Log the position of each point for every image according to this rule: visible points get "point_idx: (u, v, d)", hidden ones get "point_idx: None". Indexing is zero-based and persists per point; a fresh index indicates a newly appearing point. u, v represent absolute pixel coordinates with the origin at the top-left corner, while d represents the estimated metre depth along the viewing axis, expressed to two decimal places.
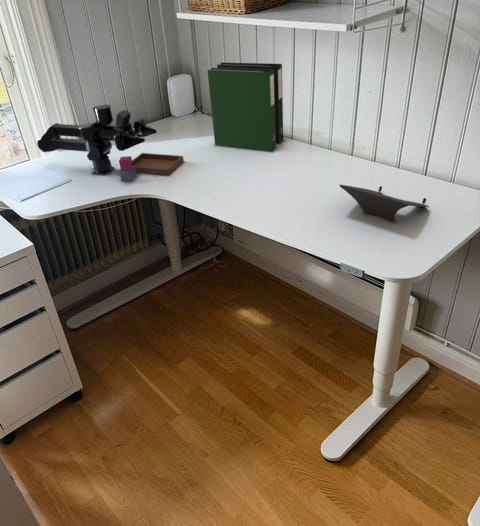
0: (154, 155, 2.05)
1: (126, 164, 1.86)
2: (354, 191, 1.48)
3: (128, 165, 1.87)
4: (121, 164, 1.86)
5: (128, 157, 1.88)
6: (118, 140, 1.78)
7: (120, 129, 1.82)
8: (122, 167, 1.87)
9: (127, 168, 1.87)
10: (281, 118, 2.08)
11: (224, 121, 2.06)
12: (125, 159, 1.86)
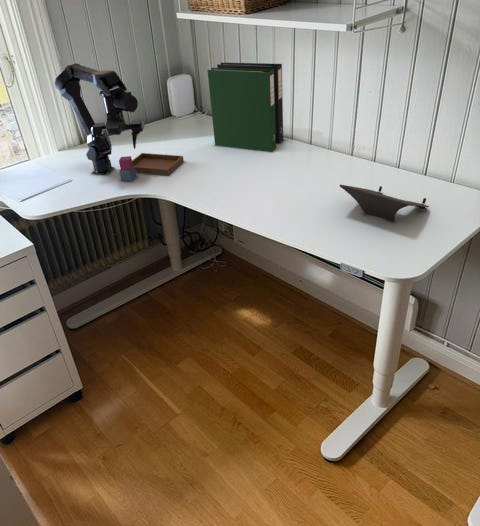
0: (154, 155, 2.05)
1: (126, 164, 1.86)
2: (354, 191, 1.48)
3: (128, 165, 1.87)
4: (121, 164, 1.86)
5: (128, 157, 1.88)
6: None
7: None
8: (122, 167, 1.87)
9: (127, 168, 1.87)
10: (281, 118, 2.08)
11: (224, 121, 2.06)
12: (125, 159, 1.86)
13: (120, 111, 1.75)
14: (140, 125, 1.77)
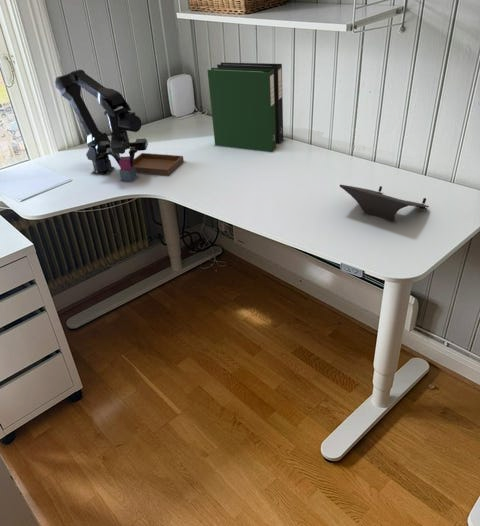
0: (154, 155, 2.05)
1: (126, 164, 1.86)
2: (354, 191, 1.48)
3: (128, 165, 1.87)
4: (121, 164, 1.86)
5: (128, 157, 1.88)
6: None
7: None
8: (122, 167, 1.87)
9: (127, 168, 1.87)
10: (281, 118, 2.08)
11: (224, 121, 2.06)
12: (125, 159, 1.86)
13: (124, 130, 1.80)
14: (144, 144, 1.81)
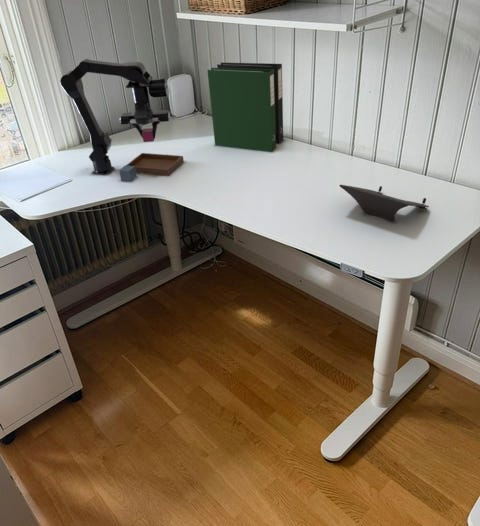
0: (154, 155, 2.05)
1: (149, 135, 1.89)
2: (354, 191, 1.48)
3: (151, 136, 1.89)
4: (144, 135, 1.89)
5: (151, 129, 1.90)
6: None
7: None
8: (145, 138, 1.89)
9: (150, 140, 1.90)
10: (281, 118, 2.08)
11: (224, 121, 2.06)
12: (148, 130, 1.89)
13: (148, 101, 1.82)
14: (167, 115, 1.84)
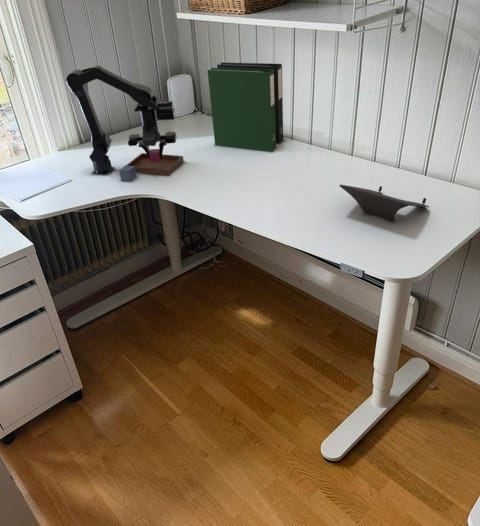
0: None
1: (156, 156, 1.95)
2: (354, 191, 1.48)
3: (157, 157, 1.95)
4: (151, 156, 1.95)
5: (157, 150, 1.96)
6: None
7: None
8: (152, 159, 1.95)
9: (156, 160, 1.96)
10: (281, 118, 2.08)
11: (224, 121, 2.06)
12: (155, 151, 1.95)
13: (155, 124, 1.88)
14: (173, 137, 1.90)
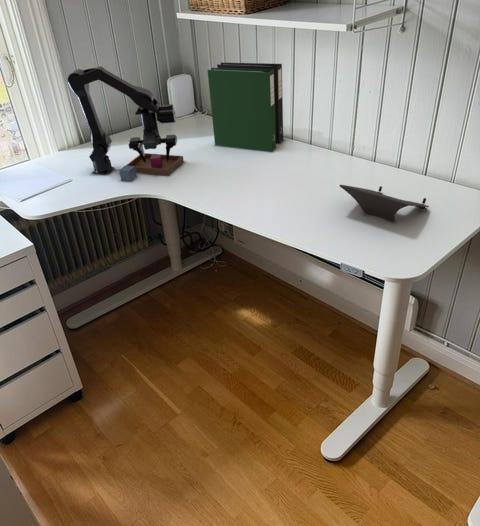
0: None
1: (157, 162, 1.96)
2: (354, 191, 1.48)
3: (158, 163, 1.96)
4: (152, 162, 1.96)
5: (158, 155, 1.97)
6: None
7: None
8: (153, 164, 1.97)
9: (157, 166, 1.97)
10: (281, 118, 2.08)
11: (224, 121, 2.06)
12: (156, 157, 1.96)
13: (156, 127, 1.89)
14: (174, 140, 1.91)
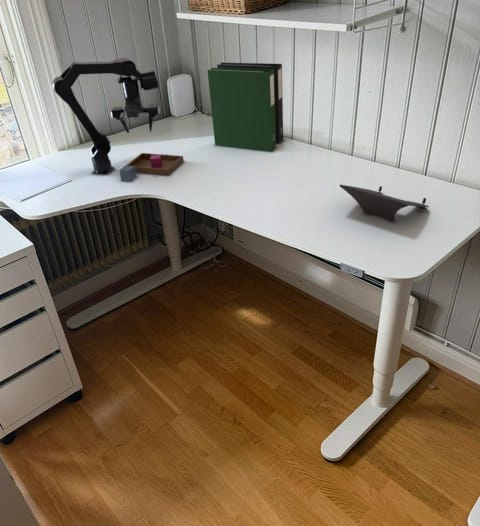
0: None
1: (157, 162, 1.96)
2: (354, 191, 1.48)
3: (158, 163, 1.96)
4: (152, 162, 1.96)
5: (158, 155, 1.97)
6: None
7: None
8: (153, 164, 1.97)
9: (157, 166, 1.97)
10: (281, 118, 2.08)
11: (224, 121, 2.06)
12: (156, 157, 1.96)
13: (138, 95, 1.88)
14: (156, 109, 1.90)
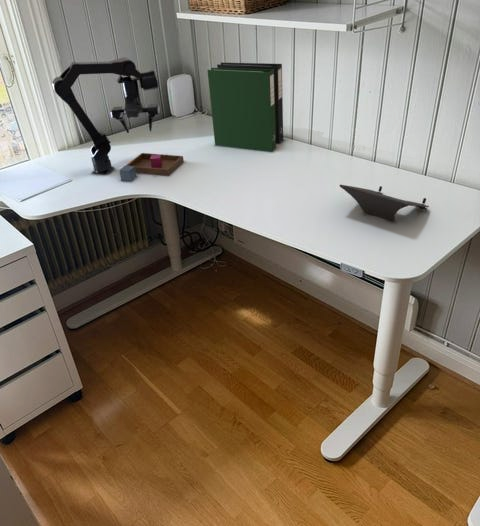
0: None
1: (157, 162, 1.96)
2: (354, 191, 1.48)
3: (158, 163, 1.96)
4: (152, 162, 1.96)
5: (158, 155, 1.97)
6: None
7: None
8: (153, 164, 1.97)
9: (157, 166, 1.97)
10: (281, 118, 2.08)
11: (224, 121, 2.06)
12: (156, 157, 1.96)
13: (138, 95, 1.88)
14: (156, 108, 1.90)
